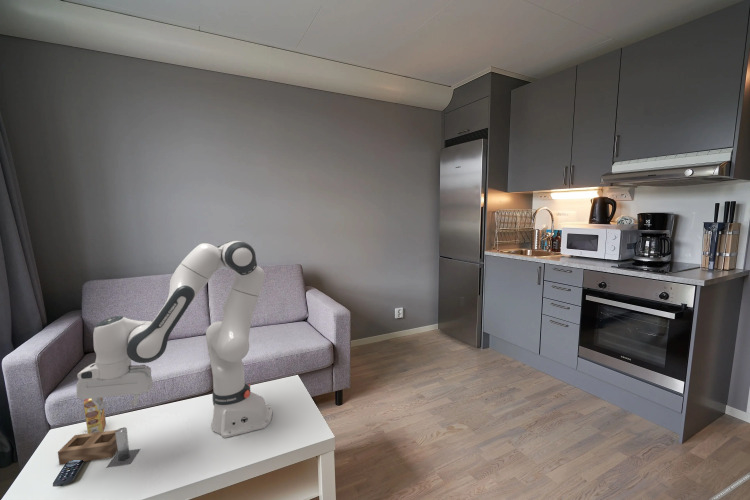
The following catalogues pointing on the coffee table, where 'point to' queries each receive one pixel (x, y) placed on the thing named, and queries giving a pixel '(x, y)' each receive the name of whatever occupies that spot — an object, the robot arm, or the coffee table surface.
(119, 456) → the peg
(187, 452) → the coffee table surface
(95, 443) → the socket block
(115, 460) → the mat
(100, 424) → the candy box
